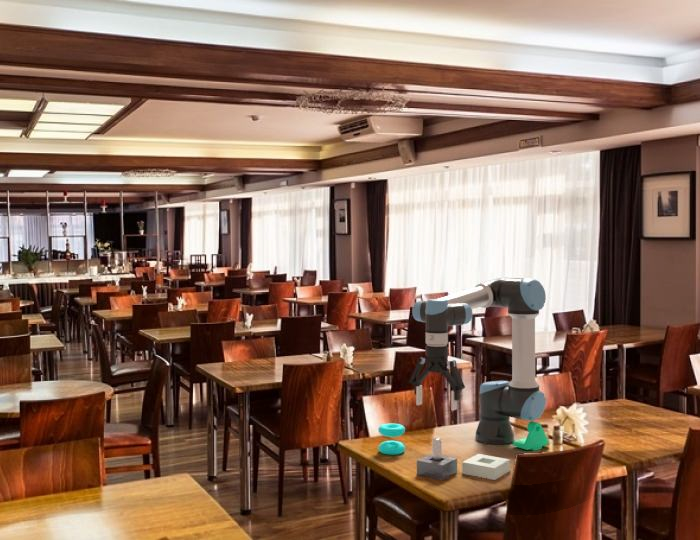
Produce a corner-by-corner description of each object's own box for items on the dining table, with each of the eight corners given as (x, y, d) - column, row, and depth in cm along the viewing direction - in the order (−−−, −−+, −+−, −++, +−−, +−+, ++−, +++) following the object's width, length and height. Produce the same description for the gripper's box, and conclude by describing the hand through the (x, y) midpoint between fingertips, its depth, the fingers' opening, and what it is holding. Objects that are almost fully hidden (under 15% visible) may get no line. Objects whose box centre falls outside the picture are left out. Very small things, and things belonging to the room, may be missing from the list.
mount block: (431, 467, 261) (431, 453, 261) (457, 472, 256) (457, 458, 255) (416, 474, 253) (416, 460, 253) (442, 480, 247) (442, 465, 247)
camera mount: (532, 443, 292) (532, 417, 292) (548, 447, 286) (548, 420, 286) (511, 448, 285) (511, 421, 285) (526, 452, 279) (526, 425, 279)
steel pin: (435, 471, 257) (435, 437, 256) (443, 473, 255) (443, 438, 254) (431, 474, 254) (430, 439, 254) (438, 475, 252) (438, 440, 252)
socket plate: (478, 464, 264) (478, 453, 264) (510, 470, 257) (510, 459, 257) (462, 473, 254) (462, 462, 254) (494, 480, 247) (494, 468, 247)
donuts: (384, 430, 274) (374, 423, 284) (384, 456, 275) (374, 449, 284) (409, 427, 277) (399, 421, 287) (409, 454, 278) (399, 447, 287)
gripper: (399, 343, 257) (399, 404, 258) (464, 349, 242) (464, 414, 243) (411, 340, 263) (411, 400, 264) (474, 346, 248) (474, 409, 249)
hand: (436, 407), depth 253 cm, fingers open, 13 cm apart
